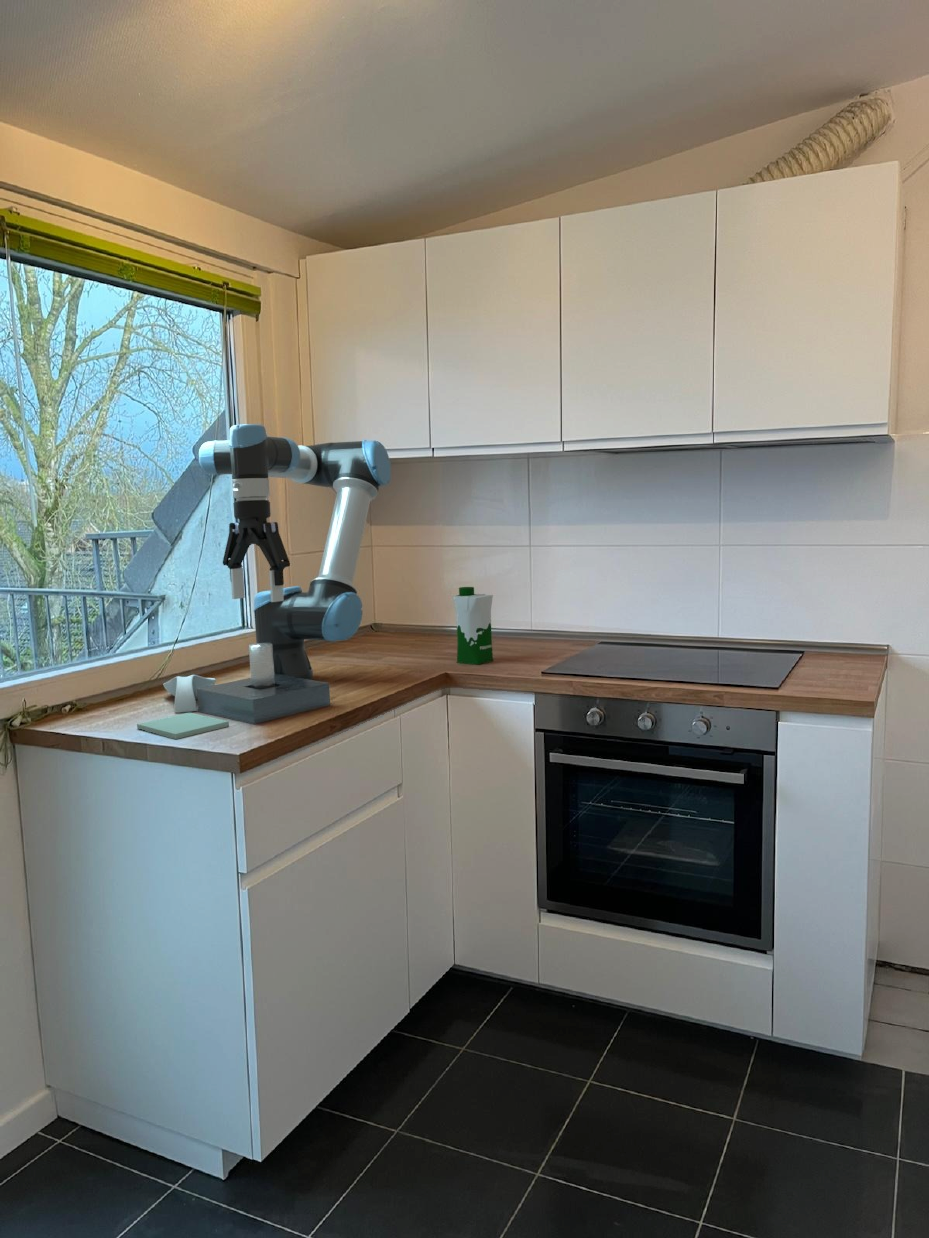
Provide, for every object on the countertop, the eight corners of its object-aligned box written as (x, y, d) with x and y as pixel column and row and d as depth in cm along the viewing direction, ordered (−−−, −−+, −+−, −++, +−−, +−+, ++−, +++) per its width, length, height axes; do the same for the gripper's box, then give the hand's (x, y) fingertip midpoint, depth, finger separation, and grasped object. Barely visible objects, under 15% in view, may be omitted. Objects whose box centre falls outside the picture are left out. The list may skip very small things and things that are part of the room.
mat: (137, 728, 185) (137, 724, 185) (189, 716, 194) (189, 712, 194) (175, 739, 176) (175, 734, 176) (228, 726, 185) (228, 721, 185)
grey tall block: (248, 709, 200) (243, 645, 198) (266, 704, 204) (263, 642, 202) (262, 712, 197) (258, 647, 195) (281, 707, 200) (277, 644, 199)
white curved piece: (166, 694, 220) (163, 664, 219) (217, 690, 223) (215, 661, 222) (158, 716, 197) (156, 683, 197) (215, 711, 200) (213, 678, 199)
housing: (198, 711, 199) (196, 688, 199) (273, 694, 214) (272, 673, 214) (254, 724, 186) (252, 699, 186) (330, 705, 201) (329, 682, 200)
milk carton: (471, 658, 254) (469, 585, 252) (498, 660, 249) (496, 586, 246) (451, 663, 247) (449, 588, 245) (479, 666, 242) (476, 590, 239)
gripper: (202, 501, 200) (208, 598, 202) (273, 498, 183) (279, 604, 186) (231, 500, 205) (237, 595, 208) (303, 497, 189) (309, 600, 192)
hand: (257, 600), depth 197 cm, fingers open, 13 cm apart
